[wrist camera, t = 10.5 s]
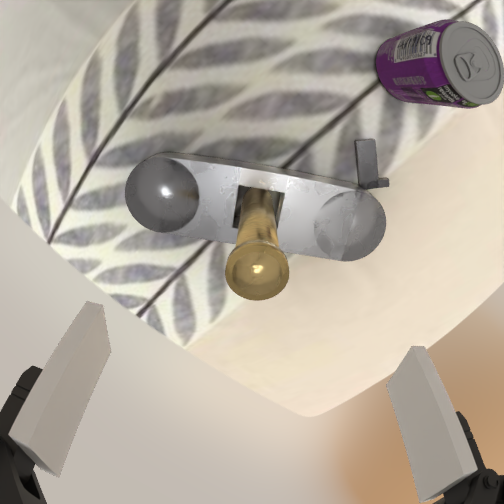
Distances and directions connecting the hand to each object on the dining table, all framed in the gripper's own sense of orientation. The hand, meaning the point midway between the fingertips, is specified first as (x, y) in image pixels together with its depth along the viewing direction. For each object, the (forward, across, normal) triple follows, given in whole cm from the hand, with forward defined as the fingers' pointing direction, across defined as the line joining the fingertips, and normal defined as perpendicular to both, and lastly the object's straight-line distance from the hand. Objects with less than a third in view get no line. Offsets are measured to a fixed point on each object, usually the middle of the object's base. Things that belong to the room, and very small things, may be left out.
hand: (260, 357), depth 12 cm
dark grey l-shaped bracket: (+21, +10, +5) cm, 24 cm away
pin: (+21, 0, -1) cm, 21 cm away
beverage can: (+22, +12, +16) cm, 30 cm away
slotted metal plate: (+21, 0, -1) cm, 21 cm away
